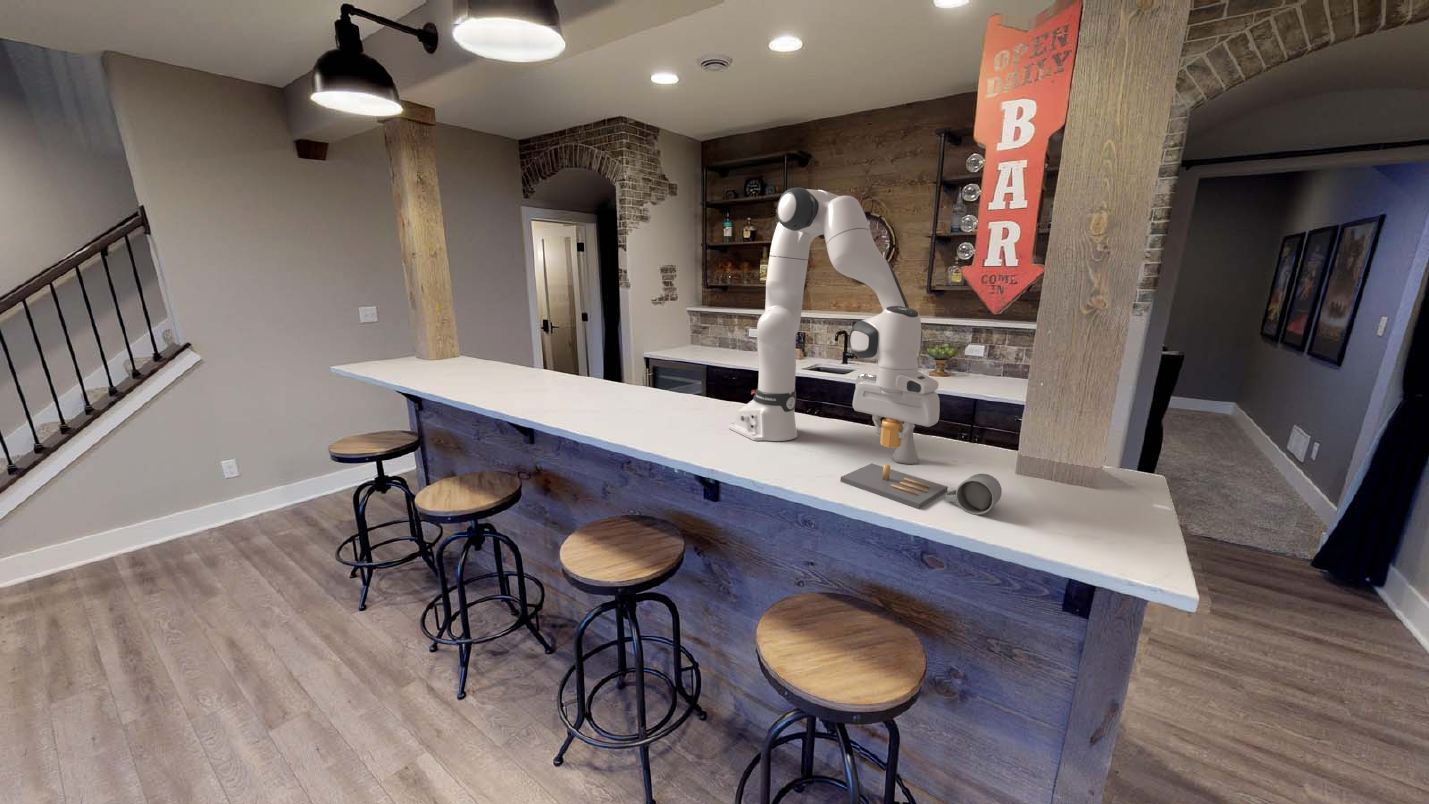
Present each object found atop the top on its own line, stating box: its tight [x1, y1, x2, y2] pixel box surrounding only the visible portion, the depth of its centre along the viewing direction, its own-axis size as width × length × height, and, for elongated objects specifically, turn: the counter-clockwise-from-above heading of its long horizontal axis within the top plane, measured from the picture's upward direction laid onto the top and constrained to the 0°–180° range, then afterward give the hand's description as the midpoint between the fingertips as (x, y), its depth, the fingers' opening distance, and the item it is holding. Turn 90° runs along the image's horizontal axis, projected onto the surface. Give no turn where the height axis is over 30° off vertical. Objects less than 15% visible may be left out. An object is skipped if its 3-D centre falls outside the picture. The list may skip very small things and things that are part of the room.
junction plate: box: [840, 462, 949, 510], centre depth 126 cm, size 20×14×5 cm
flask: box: [891, 423, 920, 465], centre depth 143 cm, size 7×7×10 cm
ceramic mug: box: [944, 473, 1003, 516], centre depth 116 cm, size 11×8×8 cm
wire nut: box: [879, 417, 904, 449], centre depth 125 cm, size 5×5×7 cm
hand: (891, 436), depth 125 cm, fingers closed on wire nut, 4 cm apart
